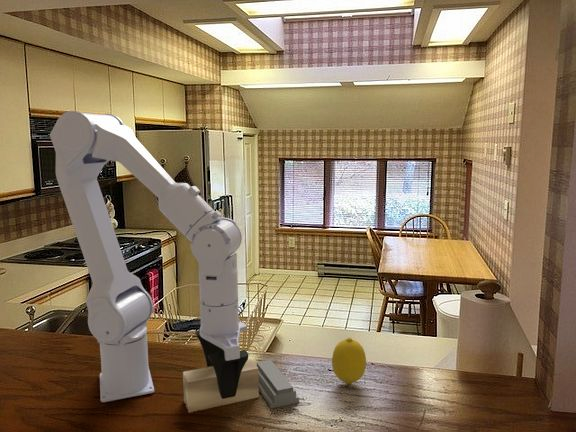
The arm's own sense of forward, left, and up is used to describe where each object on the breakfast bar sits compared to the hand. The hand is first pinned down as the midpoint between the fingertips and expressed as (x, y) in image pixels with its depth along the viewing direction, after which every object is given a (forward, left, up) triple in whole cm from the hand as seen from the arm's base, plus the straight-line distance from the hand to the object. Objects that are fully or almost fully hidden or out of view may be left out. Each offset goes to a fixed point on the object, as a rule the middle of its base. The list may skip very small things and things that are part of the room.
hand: (221, 384), depth 74 cm
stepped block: (0, +8, -2) cm, 9 cm away
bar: (0, 0, -3) cm, 3 cm away
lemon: (+3, +20, -3) cm, 21 cm away
